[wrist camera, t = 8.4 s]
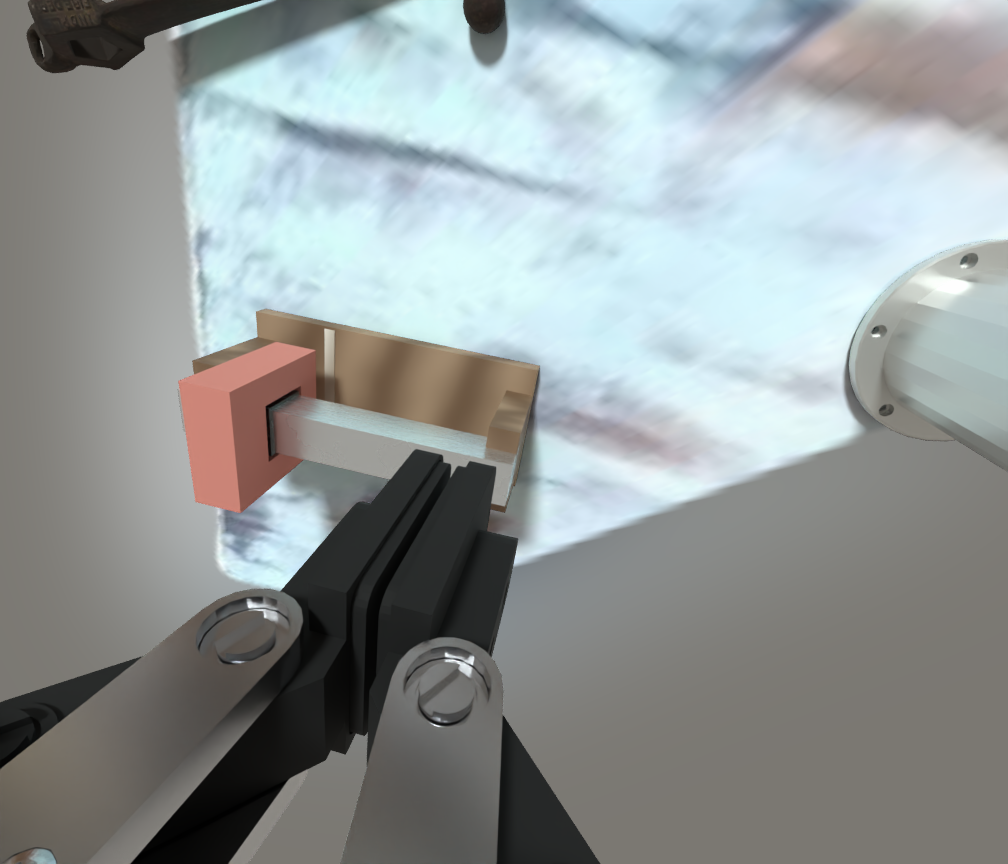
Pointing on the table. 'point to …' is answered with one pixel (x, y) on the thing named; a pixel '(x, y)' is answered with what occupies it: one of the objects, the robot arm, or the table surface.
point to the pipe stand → (406, 378)
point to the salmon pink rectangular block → (241, 422)
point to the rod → (372, 440)
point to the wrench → (147, 27)
